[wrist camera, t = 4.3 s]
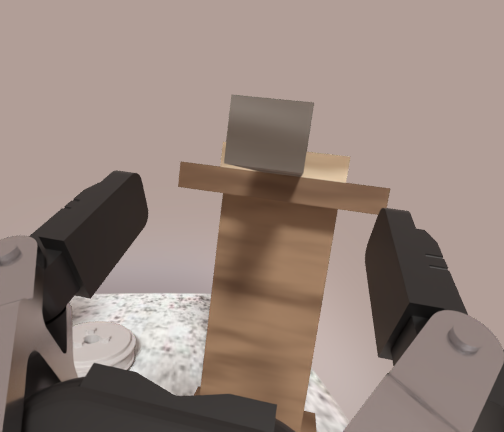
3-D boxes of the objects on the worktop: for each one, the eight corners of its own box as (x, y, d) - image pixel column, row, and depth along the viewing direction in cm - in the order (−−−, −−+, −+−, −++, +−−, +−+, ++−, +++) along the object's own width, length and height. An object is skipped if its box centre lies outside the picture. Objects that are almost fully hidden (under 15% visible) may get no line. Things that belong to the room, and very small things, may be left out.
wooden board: (403, 186, 11) (418, 112, 10) (137, 152, 12) (142, 86, 12) (328, 182, 36) (332, 161, 36) (246, 171, 37) (249, 151, 37)
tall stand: (320, 555, 26) (390, 188, 22) (147, 505, 28) (180, 161, 24) (312, 426, 40) (354, 185, 36) (196, 399, 42) (223, 168, 38)
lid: (141, 380, 45) (144, 349, 44) (36, 406, 38) (38, 369, 37) (126, 336, 55) (128, 310, 55) (42, 350, 49) (43, 321, 48)
